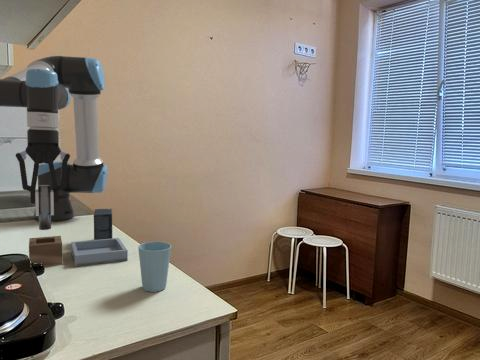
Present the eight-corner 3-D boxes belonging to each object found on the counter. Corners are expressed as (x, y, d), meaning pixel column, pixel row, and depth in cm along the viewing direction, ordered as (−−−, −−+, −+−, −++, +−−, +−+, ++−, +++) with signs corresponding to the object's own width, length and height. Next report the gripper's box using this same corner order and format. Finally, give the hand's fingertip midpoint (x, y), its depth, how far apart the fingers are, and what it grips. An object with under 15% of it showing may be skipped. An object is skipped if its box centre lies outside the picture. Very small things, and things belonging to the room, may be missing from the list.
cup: (155, 297, 88) (155, 252, 87) (131, 289, 92) (131, 246, 91) (176, 286, 94) (177, 245, 93) (153, 279, 98) (154, 239, 97)
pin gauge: (39, 227, 108) (38, 185, 106) (51, 227, 109) (50, 184, 107) (39, 230, 105) (38, 186, 103) (51, 229, 106) (50, 186, 105)
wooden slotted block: (30, 258, 110) (29, 238, 109) (60, 255, 114) (60, 235, 113) (29, 267, 103) (28, 246, 102) (62, 264, 106) (62, 243, 106)
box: (95, 239, 132) (94, 208, 130) (112, 238, 133) (112, 208, 132) (93, 245, 124) (93, 213, 123) (112, 245, 126) (112, 213, 125)
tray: (71, 251, 118) (71, 242, 117) (118, 246, 124) (118, 237, 124) (75, 266, 105) (74, 255, 105) (127, 260, 112) (127, 250, 111)
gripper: (7, 127, 97) (10, 219, 99) (76, 130, 104) (77, 215, 107) (9, 127, 103) (12, 213, 106) (74, 130, 111) (75, 210, 113)
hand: (44, 214), depth 106 cm, fingers closed on pin gauge, 3 cm apart
